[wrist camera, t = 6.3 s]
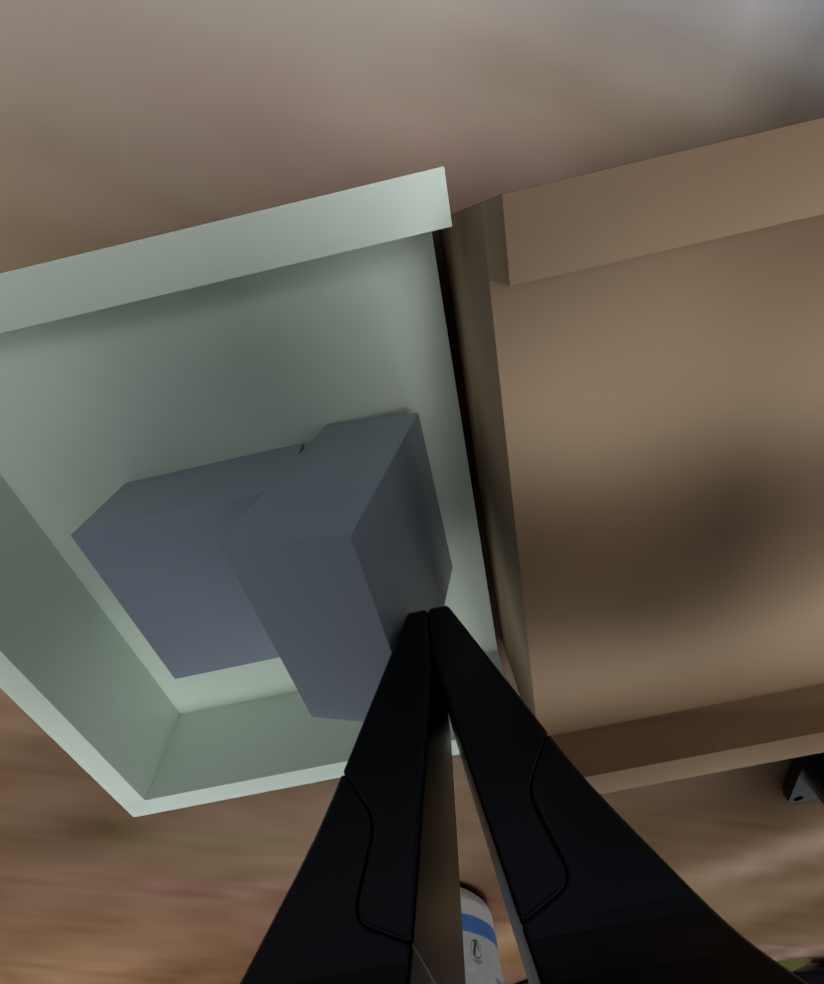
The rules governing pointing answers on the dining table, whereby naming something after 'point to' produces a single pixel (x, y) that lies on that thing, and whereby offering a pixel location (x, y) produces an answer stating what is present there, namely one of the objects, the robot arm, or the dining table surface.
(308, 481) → the front tile
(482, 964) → the supplement tub
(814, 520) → the brown square tray
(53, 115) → the dining table surface
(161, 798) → the tray
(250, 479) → the rear tile
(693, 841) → the dining table surface
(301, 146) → the dining table surface
